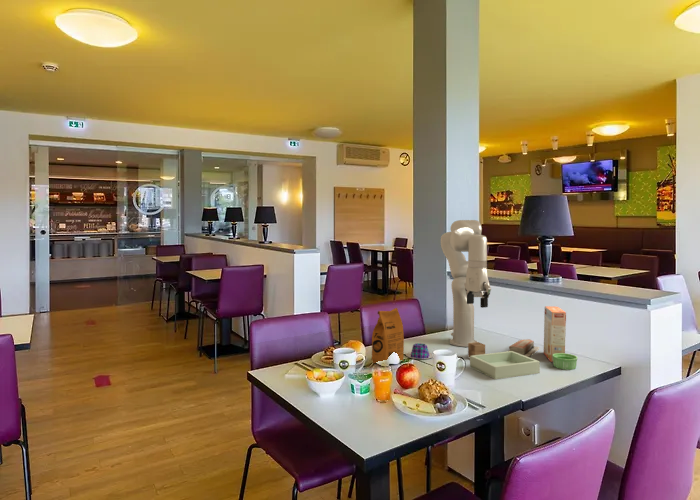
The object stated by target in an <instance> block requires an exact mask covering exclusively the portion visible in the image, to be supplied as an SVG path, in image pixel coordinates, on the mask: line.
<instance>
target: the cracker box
mask: <svg viewBox="0 0 700 500" xmlns="http://www.w3.org/2000/svg"><path fill="white" fill-rule="evenodd" d="M543 313H544V314H543V315H544V319H543V322H544V323H543V327H544V328H543V354H544V356H545V357H546V358H547V360H548V361H549V362H551V363H553V354H555V353H566V329H567V328H566V327H567V325H566V324H567V311H565V310H563V309H562V308H561V307H559V306H552V305H551V306H544V312H543Z"/></svg>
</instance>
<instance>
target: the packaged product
mask: <svg viewBox="0 0 700 500" xmlns="http://www.w3.org/2000/svg"><path fill="white" fill-rule="evenodd" d="M534 344H535V341H534V340H532V339H528V338H527V339H519V340H518V341H516V342H515V343H513V344H511V345H509V346H508V351H513V352H516V353H519V354H521V355H524V356H527V357H529V358H531V355H532V354H533V355H534V354H536V353H537V352H538V351H539V350H540V346H534ZM536 351H537V352H536ZM535 352H536V353H535ZM533 355H532V356H533Z"/></svg>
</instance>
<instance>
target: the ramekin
mask: <svg viewBox="0 0 700 500" xmlns="http://www.w3.org/2000/svg"><path fill="white" fill-rule="evenodd" d="M552 363H553V367H555V368H557V369H559V370H568V371H569V370H575V369H576V368H577V363H578V356H577V355H574V354H571V353H566V352H565V353H555V354H553V362H552Z"/></svg>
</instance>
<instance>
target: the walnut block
mask: <svg viewBox="0 0 700 500" xmlns="http://www.w3.org/2000/svg"><path fill="white" fill-rule="evenodd" d="M481 354H486V344H484V343H481V342H479V341H477V342H474V343H468V347H467V357H468V358H469V359H470V356H472V355H481Z"/></svg>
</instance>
